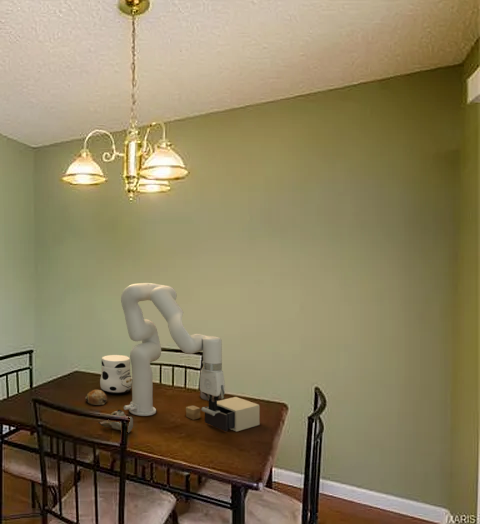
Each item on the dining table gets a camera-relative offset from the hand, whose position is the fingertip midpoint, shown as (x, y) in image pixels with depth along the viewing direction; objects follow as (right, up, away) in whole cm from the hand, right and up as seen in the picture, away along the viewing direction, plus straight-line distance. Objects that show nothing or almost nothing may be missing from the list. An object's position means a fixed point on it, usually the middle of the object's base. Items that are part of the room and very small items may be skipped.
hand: (212, 410), depth 177 cm
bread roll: (-47, -9, +35) cm, 60 cm away
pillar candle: (+11, -8, +41) cm, 44 cm away
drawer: (+5, -7, +3) cm, 9 cm away
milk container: (-36, -8, +53) cm, 65 cm away
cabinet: (+12, -8, +7) cm, 16 cm away
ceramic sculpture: (-39, -9, +1) cm, 40 cm away
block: (-4, -8, +14) cm, 17 cm away
